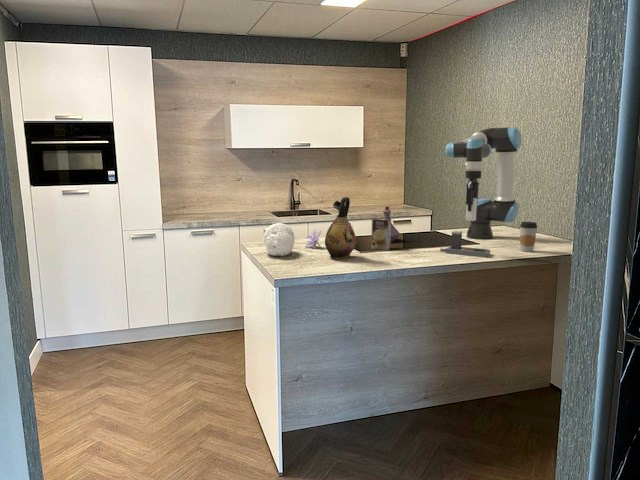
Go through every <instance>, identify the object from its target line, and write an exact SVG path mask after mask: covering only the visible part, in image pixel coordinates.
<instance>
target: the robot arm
mask: <svg viewBox="0 0 640 480" xmlns="http://www.w3.org/2000/svg"><path fill="white" fill-rule="evenodd" d="M521 146H522V135H521V132H520V130H519V128H518V127H510V126H509V127H490V128H485V129H482V130H479V131H477V132H475V133H473V134H472V135H471V136H469V137H467V138H465V139H463V140H460V141H458V142H451V143H447V145H446V146H445V155H446V157H447V158H452V159H454V158H455V159H457V158H458V159H459V158H461V159H462V158H464V159H465V158H466V159H465V161H466V162H465V163H464V165H465V169H466V171H465V177H464V178H465V179H468V182H467V183H466V186H465V187H466V193H465V194H466V197H465V198H466V199H465V206H466V205H467V218H473V198H477V209H476V220H475V221H469V223H470V224H469V226H468V228H467V231H466V237H467V238H468V239H469V238H470V239H474V240H476V239H477V240H490V239H492V238H494V237H493V236H494V234H493V229H492V226H491V222H499V223H500V222H501V223H513V222H515V221H516V218H517V216H518V213H519V209H520V208H519V203H518V202H517V201H516V198H515V197H514V196H513V195H514V171H515V170H514V168H515V154H517V152H518V149H520V148H521ZM492 149H493V150H495V153H496V154H497V181H496V182H497V183H496V184H497V186H496V196H495V198H494V199H493V200H492V198H480V199H478V198H479V188H480V186H479V185H480V182H479V181H478V179H481V178H482V170H483V169H482V168H483V159H485V158H488V157H490V156H491V154H492Z"/></svg>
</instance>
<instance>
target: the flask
mask: <svg viewBox="0 0 640 480" xmlns="http://www.w3.org/2000/svg"><path fill="white" fill-rule="evenodd" d="M382 213H383V217H382V219H391V213H392V211H391V210H390V206H385V207H384V210H383V211H382ZM400 235H401V234H400V231H399V230H398V229H397V228H396V227H395V226H394V225H393V223H392V222H391V240H390V243H392V242H395V241H396V240H397V238H398V237H399V236H400Z"/></svg>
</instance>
